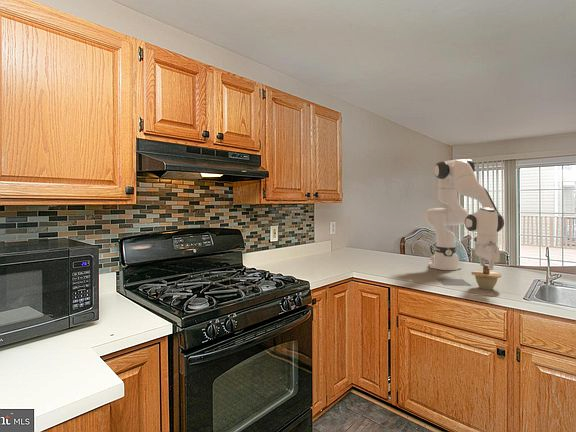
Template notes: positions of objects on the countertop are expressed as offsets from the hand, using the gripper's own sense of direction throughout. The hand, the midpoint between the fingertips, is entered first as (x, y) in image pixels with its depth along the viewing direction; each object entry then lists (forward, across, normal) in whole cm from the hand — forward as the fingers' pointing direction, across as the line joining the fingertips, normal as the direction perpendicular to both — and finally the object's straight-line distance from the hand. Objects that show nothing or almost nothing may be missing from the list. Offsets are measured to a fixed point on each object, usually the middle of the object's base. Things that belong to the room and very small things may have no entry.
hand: (486, 267), depth 171 cm
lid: (+4, 0, 0) cm, 4 cm away
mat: (+11, +11, +12) cm, 20 cm away
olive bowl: (+11, 0, 0) cm, 11 cm away
